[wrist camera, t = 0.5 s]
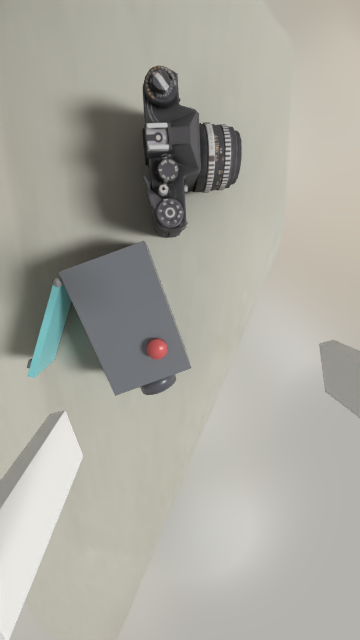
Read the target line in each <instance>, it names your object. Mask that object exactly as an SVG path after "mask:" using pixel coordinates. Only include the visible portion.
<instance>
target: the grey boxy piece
mask: <svg viewBox="0 0 360 640" xmlns="http://www.w3.org/2000/svg"><path fill="white" fill-rule="evenodd" d="M59 275H60V277H61V279H62V281H63V283H64V285H65V288H66V290H67V292H68V294H69V296H70V298H71V301H72V303H73V305H74V307H75V309H76V311H77V314H78V316H79V318H80V320H81V322H82V324H83V327H84V329H85V331H86V333H87V335H88V337H89V340H90V342H91V344H92V346H93V348H94V350H95V353H96V355H97V357H98V359H99V361H100V363H101V366H102V368H103V370H104V372H105V374H106V376H107V379H108V381H109V383H110V385H111V387H112V389H113V392H114V394H115V396H116V395H119V394H121V393H124V392H127V391H130V390H132V389H135V388H138V387H140V388H141V390H142V392H143V394H146V395H153V394H158V393H161V392H163V391H165V390H166V389H168V388H169V387H170V386H172V385H173V384H174V382H175V381H176V376H175V374H176V373H179V372H182V371H185V370H187V369H190V368H191V366H190V362H189V359H188V356H187V353H186V349H185V347H184V344H183V341H182V339H181V336H180V333H179V330H178V328H177V325H176V322H175V320H174V317H173V314H172V311H171V309H170V306H169V303H168V301H167V298H166V295H165V292H164V290H163V287H162V284H161V282H160V279H159V276H158V274H157V271H156V268H155V265H154V263H153V260H152V257H151V255H150V252H149V249H148V246H147V245H146V243H145V241H142V242H139V243H137V244H134V245H131V246H128V247H126V248H123V249H120V250H117V251H115V252H112V253H109V254H106V255H104V256H101V257H98V258H95V259H93V260H90V261H87V262H84V263H82V264H79V265H76V266H73V267H71V268H68V269H65V270H62V271H60V272H59Z"/></svg>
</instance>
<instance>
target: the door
mask: <svg viewBox="0 0 360 640" xmlns="http://www.w3.org/2000/svg"><path fill="white" fill-rule="evenodd" d="M71 302H72V301H71V298H70V296H69V294H68V292H67V290H66V288H65V285H64V283H63V281H62V279H61V278H56V279H54V280H53V286H52V290H51V293H50V297H49V300H48V304H47V308H46V311H45V315H44V319H43V322H42V326H41V329H40V333H39V337H38V340H37V344H36V347H35V351H34V355H33V358H32V359H30V360H29V361H28V365H27V368H30V369H29V373H28V376H29V377H33V378H35V377H36V376H37V375H38V374H39V373H40V372H42V371H43V370H44V369H45V368H46V367H47V366H48V365H49V364H50V363H52V362H53V361H54V360H55V357H56V353H57V350H58V346H59V343H60V340H61V336H62V333H63V329H64V326H65V323H66V319H67V316H68V312H69V309H70V306H71Z"/></svg>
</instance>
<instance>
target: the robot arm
mask: <svg viewBox="0 0 360 640" xmlns="http://www.w3.org/2000/svg"><path fill="white" fill-rule="evenodd" d="M319 346H320V354H321V362H322V370H323V378H324V386H325V392H326V393H328V394H329V395H330V396H331V397H333V398H334V399H335V400H337V401H338V402H339V403H341V404H342V405H343V406H345V407H346V408H347V409H349V410H350V411H351V412H352V413H354V414H355V415H356V416H358V417H359V418H360V351H359V350H356V349H354V348H351V347H349V346H347V345H344V344H342V343H340V342H338V341H335V340H331V341H328V342H324V343H320V344H319ZM82 458H83V455H82V452H81V450H80V447H79V444H78V442H77V439H76V437H75V434H74V432H73V429H72V427H71V424H70V421H69V419H68V416H67V414H66V411H65V410H64V411H60V412H56V413H53V414H50V415H49V416H48V417H47V419H46V420H45V422H44V423H43V424H42V426H41V427H40V428H39V430H38V431H37V432H36V434H35V435H34V436H33V438H32V439H31V440H30V442H29V443H28V444H27V446H26V447H25V448H24V450H23V451H22V452H21V454H20V455H19V457H18V458H17V459H16V461H15V462H14V463H13V465H12V466H11V467H10V469H9V470H8V471H7V473H6V474H5V475H4V477H3V478H2V479H1V481H0V640H9V639H10V636H11V634H12V631H13V629H14V626H15V624H16V621H17V619H18V616H19V614H20V611H21V609H22V606H23V604H24V602H25V599H26V597H27V594H28V592H29V589H30V587H31V584H32V582H33V579H34V577H35V574H36V572H37V569H38V567H39V564H40V562H41V559H42V557H43V554H44V552H45V550H46V547H47V545H48V542H49V540H50V537H51V535H52V532H53V530H54V527H55V525H56V522H57V520H58V517H59V515H60V512H61V510H62V507H63V505H64V502H65V500H66V498H67V495H68V493H69V490H70V488H71V485H72V483H73V480H74V478H75V475H76V473H77V470H78V468H79V465H80V463H81V460H82Z"/></svg>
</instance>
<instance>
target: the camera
mask: <svg viewBox="0 0 360 640" xmlns="http://www.w3.org/2000/svg"><path fill="white" fill-rule="evenodd" d="M143 102H144V117H145V128H143V145H144V156H145V165H148V169H149V180H148V179H147V177H146V175H144V176H143V178H144V182H145V184H146V187H147V194H148V200H149V202H150V204H151V205H152V215H153V223H154V228H155V231H156V232H157V234H159V235H160V236H162V237H165V238H167V237H176V236H178V235H180V232H181V231H182V230H184V229H185V228H186V226H188V222H186V208H185V193H186V192H188V191H190V190H193V192H203V193H208V192H209V191H212V190H223V189H224V188H229V187H230V185H231V184H234V183H235V182H236V179H237V178H238V174H239V170H240V165H241V138H240V134H239V132H238V131H234V129H233V127H228V126H227V125H226V124H220V125H214V124H211V123H209V122H204V123H203V124H201V123H200V124H199V113H198V112H197V111H196V110H195V109H191V108H188V107H185V106H181V105H179V102H180V98H179V93H178V78H177V73H175V72H174V71H172V70H170V69H168V68H166V67H164V66H156V67H153V68H151V69H150V70H149V71H148V73H147V75H146V76H145V80H144V84H143ZM149 181H150V182H149Z"/></svg>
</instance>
